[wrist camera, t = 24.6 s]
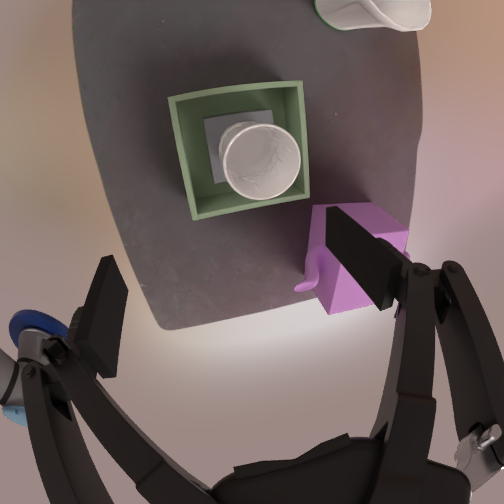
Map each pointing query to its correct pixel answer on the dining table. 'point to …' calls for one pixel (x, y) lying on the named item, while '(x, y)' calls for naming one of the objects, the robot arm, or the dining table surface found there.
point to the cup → (374, 13)
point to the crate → (195, 150)
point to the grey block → (217, 127)
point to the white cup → (259, 159)
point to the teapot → (331, 270)
